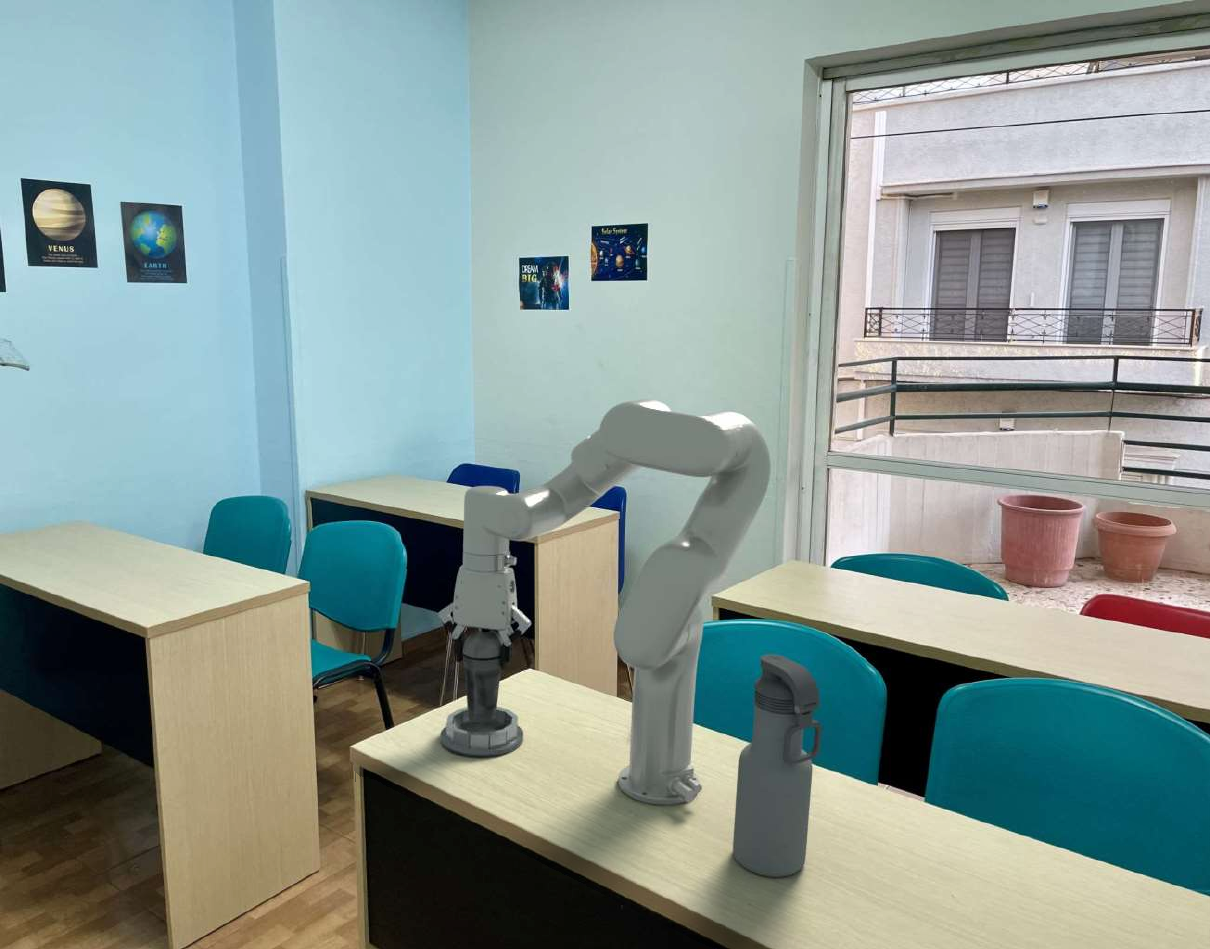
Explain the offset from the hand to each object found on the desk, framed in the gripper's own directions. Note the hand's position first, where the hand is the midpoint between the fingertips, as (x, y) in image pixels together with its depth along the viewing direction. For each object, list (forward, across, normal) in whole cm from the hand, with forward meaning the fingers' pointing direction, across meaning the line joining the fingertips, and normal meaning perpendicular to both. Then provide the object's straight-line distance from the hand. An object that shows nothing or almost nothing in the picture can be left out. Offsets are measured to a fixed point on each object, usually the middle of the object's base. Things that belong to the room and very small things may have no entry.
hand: (483, 661), depth 158 cm
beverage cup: (+10, 0, 0) cm, 10 cm away
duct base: (+14, 0, 0) cm, 14 cm away
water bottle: (+14, -50, +22) cm, 57 cm away
